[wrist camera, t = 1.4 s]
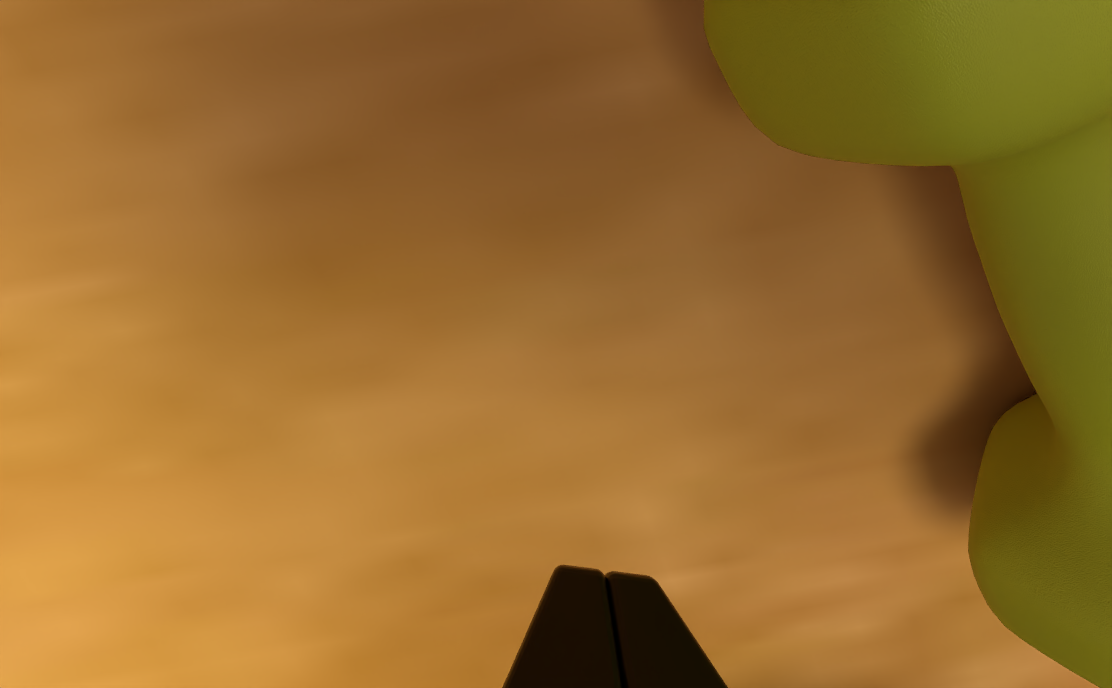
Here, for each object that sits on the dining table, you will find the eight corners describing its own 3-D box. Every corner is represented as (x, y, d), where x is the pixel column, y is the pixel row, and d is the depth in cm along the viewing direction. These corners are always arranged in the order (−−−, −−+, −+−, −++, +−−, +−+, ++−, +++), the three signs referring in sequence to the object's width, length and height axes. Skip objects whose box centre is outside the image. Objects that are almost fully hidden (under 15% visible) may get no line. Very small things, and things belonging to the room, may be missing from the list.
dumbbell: (643, -88, 17) (701, 24, 11) (1119, -375, 15) (1529, -441, 9) (942, 530, 24) (1075, 800, 18) (1281, 399, 22) (1558, 654, 16)
